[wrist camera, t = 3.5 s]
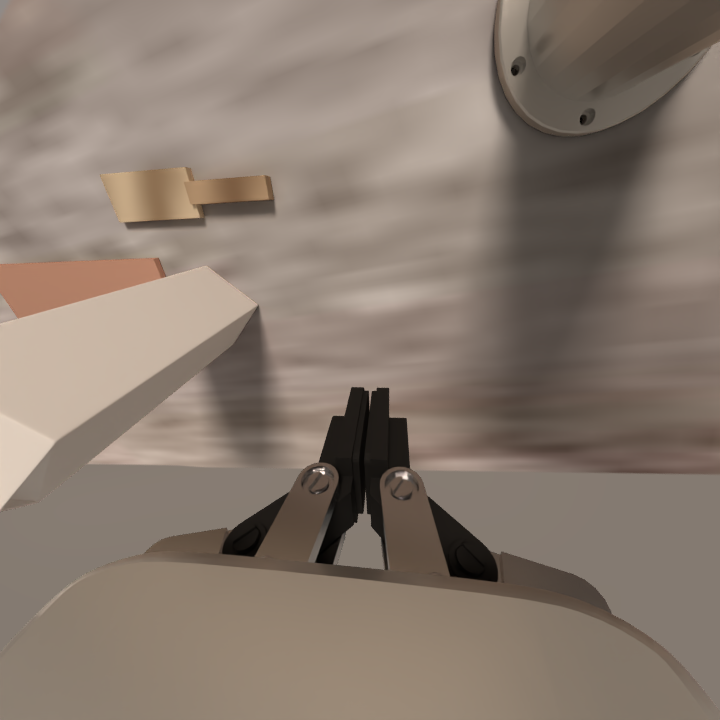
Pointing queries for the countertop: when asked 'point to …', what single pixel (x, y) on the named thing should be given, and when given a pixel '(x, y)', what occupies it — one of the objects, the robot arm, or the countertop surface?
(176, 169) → the turner
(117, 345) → the milk
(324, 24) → the countertop surface
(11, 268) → the mat
